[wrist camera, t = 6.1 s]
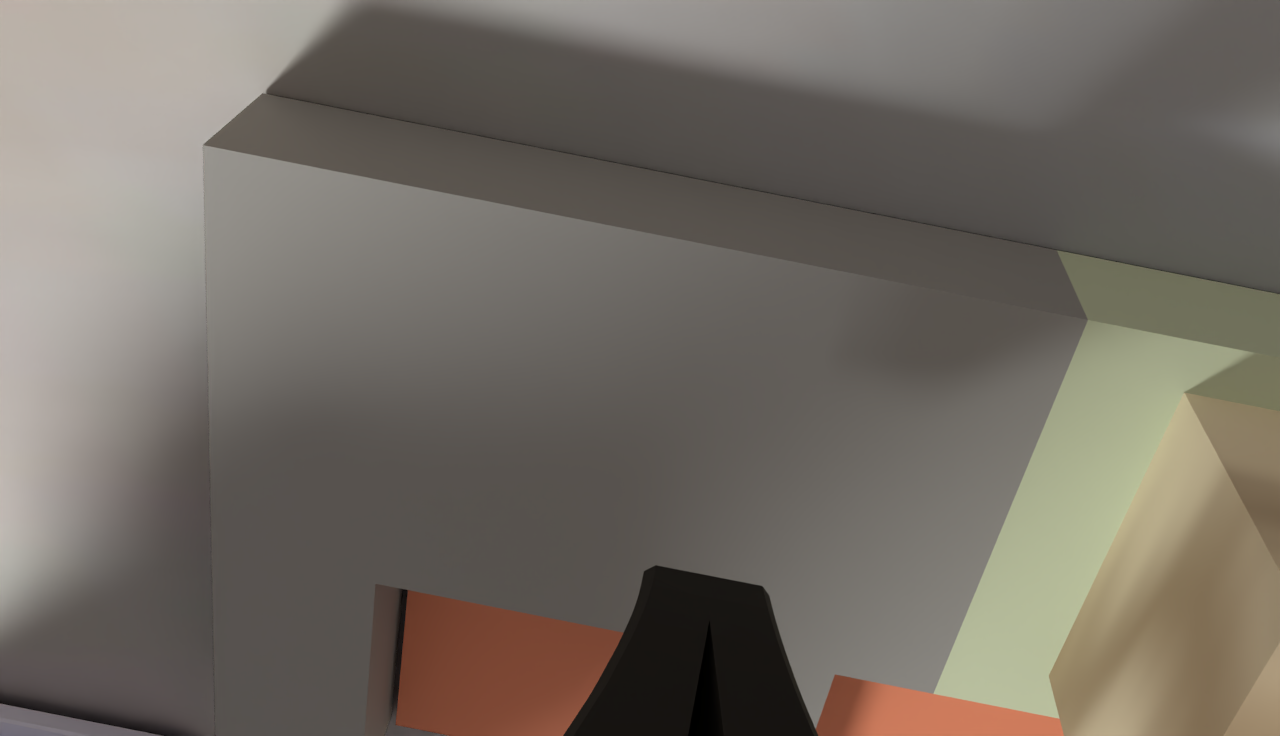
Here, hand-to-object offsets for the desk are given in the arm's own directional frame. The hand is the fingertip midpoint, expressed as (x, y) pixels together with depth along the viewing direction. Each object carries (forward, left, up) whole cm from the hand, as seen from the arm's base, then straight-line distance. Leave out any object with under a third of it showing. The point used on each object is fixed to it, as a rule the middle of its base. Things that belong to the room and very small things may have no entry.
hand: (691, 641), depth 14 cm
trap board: (-2, -2, -5) cm, 6 cm away
